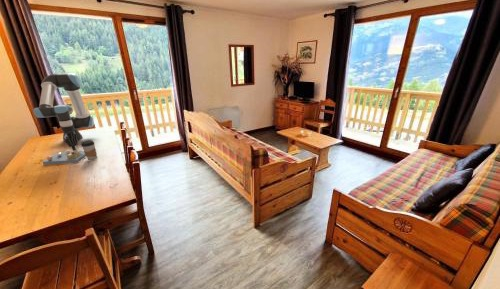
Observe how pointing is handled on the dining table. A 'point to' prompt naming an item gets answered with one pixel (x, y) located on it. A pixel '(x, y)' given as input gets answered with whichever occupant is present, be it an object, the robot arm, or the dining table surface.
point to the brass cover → (73, 155)
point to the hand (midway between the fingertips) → (76, 153)
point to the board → (64, 159)
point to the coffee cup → (89, 150)
